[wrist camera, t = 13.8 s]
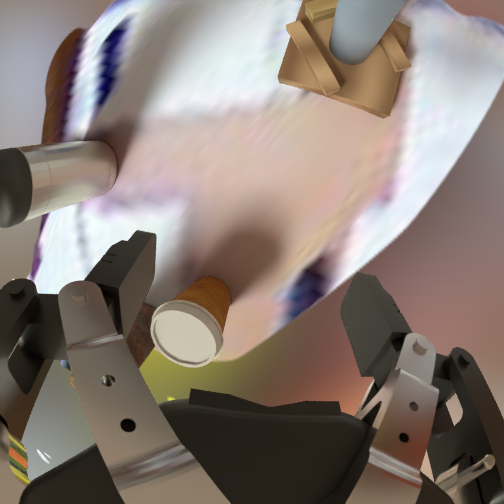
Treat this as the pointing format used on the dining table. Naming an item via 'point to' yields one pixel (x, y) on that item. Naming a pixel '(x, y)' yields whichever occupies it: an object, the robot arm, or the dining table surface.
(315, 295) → the dining table surface
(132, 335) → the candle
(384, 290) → the robot arm
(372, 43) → the flask
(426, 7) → the dining table surface
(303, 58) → the display stand
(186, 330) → the disposable coffee cup
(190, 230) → the dining table surface
